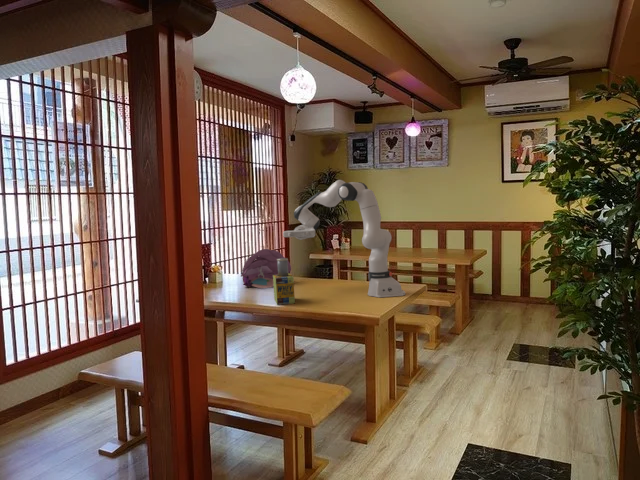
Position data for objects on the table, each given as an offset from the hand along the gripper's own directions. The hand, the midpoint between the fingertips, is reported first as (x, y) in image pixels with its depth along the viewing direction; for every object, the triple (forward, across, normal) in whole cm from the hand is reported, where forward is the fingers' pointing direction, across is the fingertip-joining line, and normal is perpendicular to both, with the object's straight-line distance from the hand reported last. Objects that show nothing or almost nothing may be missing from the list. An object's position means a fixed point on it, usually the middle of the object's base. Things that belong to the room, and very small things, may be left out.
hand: (297, 234), depth 304 cm
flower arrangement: (-40, -32, +38) cm, 64 cm away
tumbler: (+16, -8, +23) cm, 29 cm away
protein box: (+16, -8, +38) cm, 42 cm away
